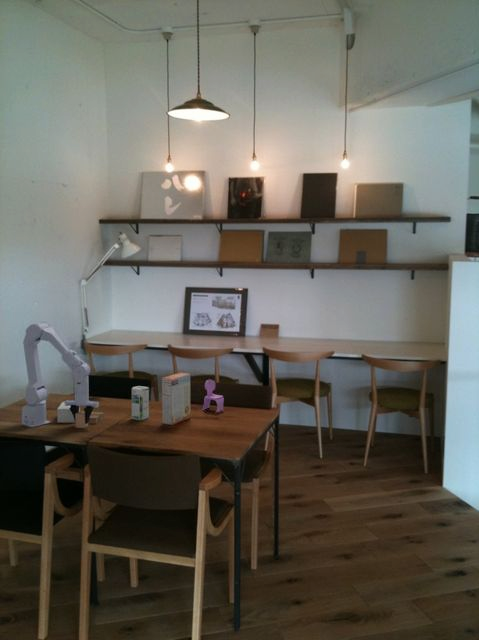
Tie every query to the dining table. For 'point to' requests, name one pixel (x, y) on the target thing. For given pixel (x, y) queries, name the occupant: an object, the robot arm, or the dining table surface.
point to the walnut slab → (96, 417)
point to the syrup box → (140, 403)
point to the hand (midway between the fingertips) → (82, 422)
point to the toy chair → (212, 396)
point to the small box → (65, 414)
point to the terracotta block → (80, 420)
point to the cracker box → (175, 398)
